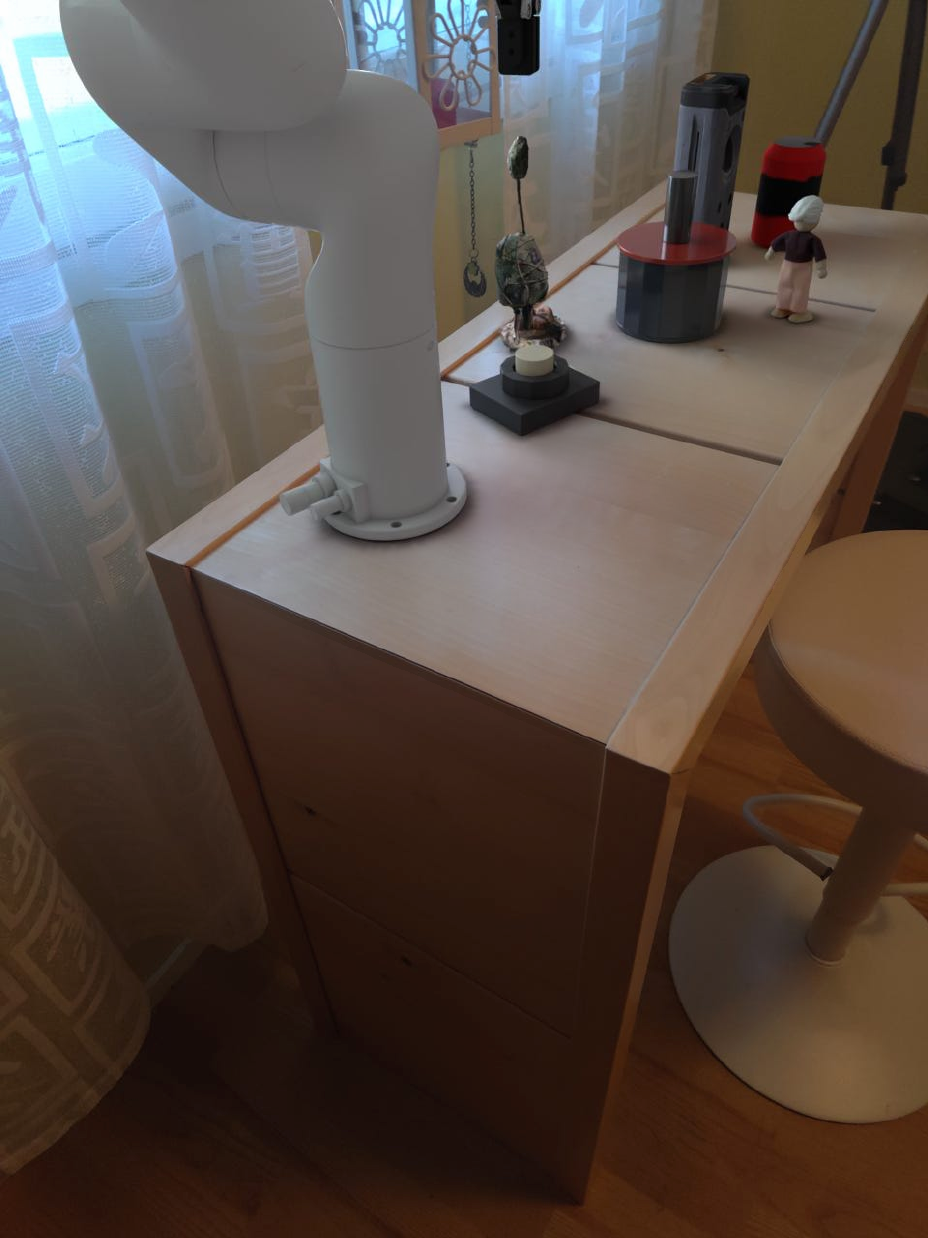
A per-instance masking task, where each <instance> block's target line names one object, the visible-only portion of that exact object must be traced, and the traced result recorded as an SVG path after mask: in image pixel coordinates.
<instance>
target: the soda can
mask: <svg viewBox="0 0 928 1238" xmlns="http://www.w3.org/2000/svg"><path fill="white" fill-rule="evenodd" d="M827 157H828V155H827V152H826V149H825V148H824V146H823V144H822V141H821V140H820V139H819V138H816V137H813V136H812V137H811V136H805V135H804V136H802V135H788V136H782V137H777V138H775V139H774V140H773V142H772V143H771V144H770V145H769V147H767V149H766V150H765V151H764V152H763V157H762V163H761V170H760V176H759V182H758V187H757V188H758V190H757V194H756V202H755V207H754V214H753V219H752V226H751V233H750V239H751V240H752V242H753V243H754V244H755V246H758V247H761V248H765V249H769V248H770V247H771V242H772V241H773V240H774V239H776V238H777V237H778V236H780V235H781V234H783V233H785V232H788V231H791V230H797V229H796V227H795V225H794V222H793V221H791V220H790V219H789V216H788V214H790V212H791V210H792V208H793V207H794V206H795V204H796V203H797V202H798V201H799V200H801V199H802V198H804V197H807V196H811V195H815V196H817V197H820V196H819V195H820V191H821V186H822V180H823V176H824V172H825V171H824V170H825V166H826V163H827V162H826V161H827ZM810 232H811V233H812V231H810Z"/></svg>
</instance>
